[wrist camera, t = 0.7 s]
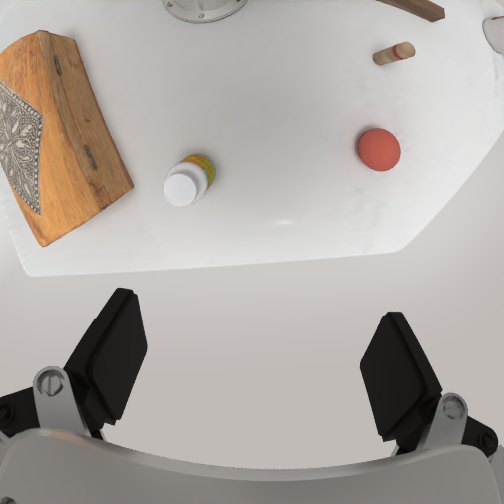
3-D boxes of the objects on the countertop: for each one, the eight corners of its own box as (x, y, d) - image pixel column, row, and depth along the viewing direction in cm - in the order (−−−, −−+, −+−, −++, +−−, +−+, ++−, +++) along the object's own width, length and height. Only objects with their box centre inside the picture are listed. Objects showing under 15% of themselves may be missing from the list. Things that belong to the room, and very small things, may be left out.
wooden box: (19, 90, 29) (-33, 98, 17) (79, 35, 26) (24, 24, 14) (70, 222, 42) (25, 260, 30) (137, 187, 39) (91, 222, 27)
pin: (372, 50, 28) (401, 39, 20) (385, 54, 28) (415, 44, 20) (372, 63, 29) (400, 54, 21) (385, 67, 29) (415, 59, 21)
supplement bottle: (223, 173, 38) (212, 193, 29) (196, 196, 40) (179, 222, 31) (198, 146, 36) (180, 157, 28) (172, 170, 38) (148, 189, 29)
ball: (355, 123, 34) (371, 126, 28) (391, 131, 34) (411, 136, 28) (350, 163, 36) (364, 172, 31) (385, 169, 37) (403, 179, 31)
